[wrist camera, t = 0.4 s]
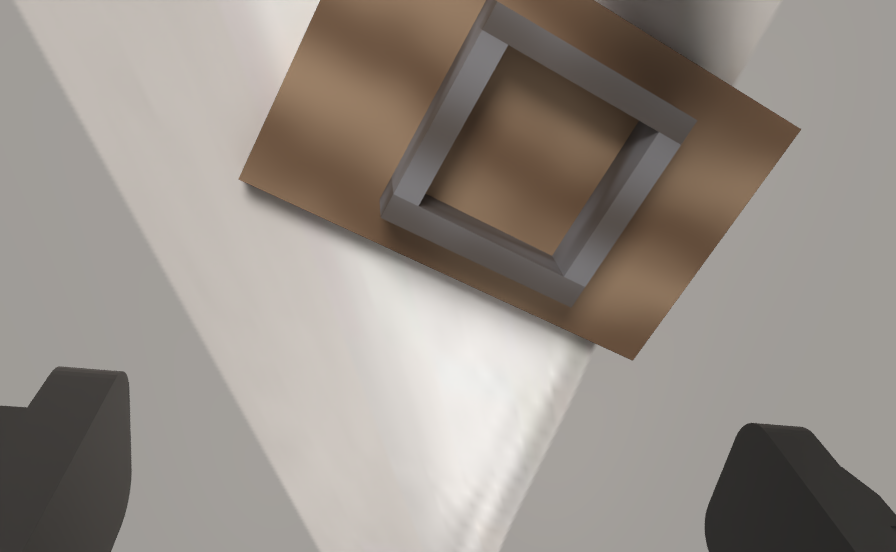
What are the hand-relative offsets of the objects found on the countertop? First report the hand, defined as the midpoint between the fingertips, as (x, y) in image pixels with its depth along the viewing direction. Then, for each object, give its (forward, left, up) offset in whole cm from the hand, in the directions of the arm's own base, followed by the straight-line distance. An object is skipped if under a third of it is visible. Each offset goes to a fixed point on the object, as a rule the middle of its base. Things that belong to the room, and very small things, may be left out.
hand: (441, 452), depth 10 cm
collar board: (0, +7, -26) cm, 27 cm away
